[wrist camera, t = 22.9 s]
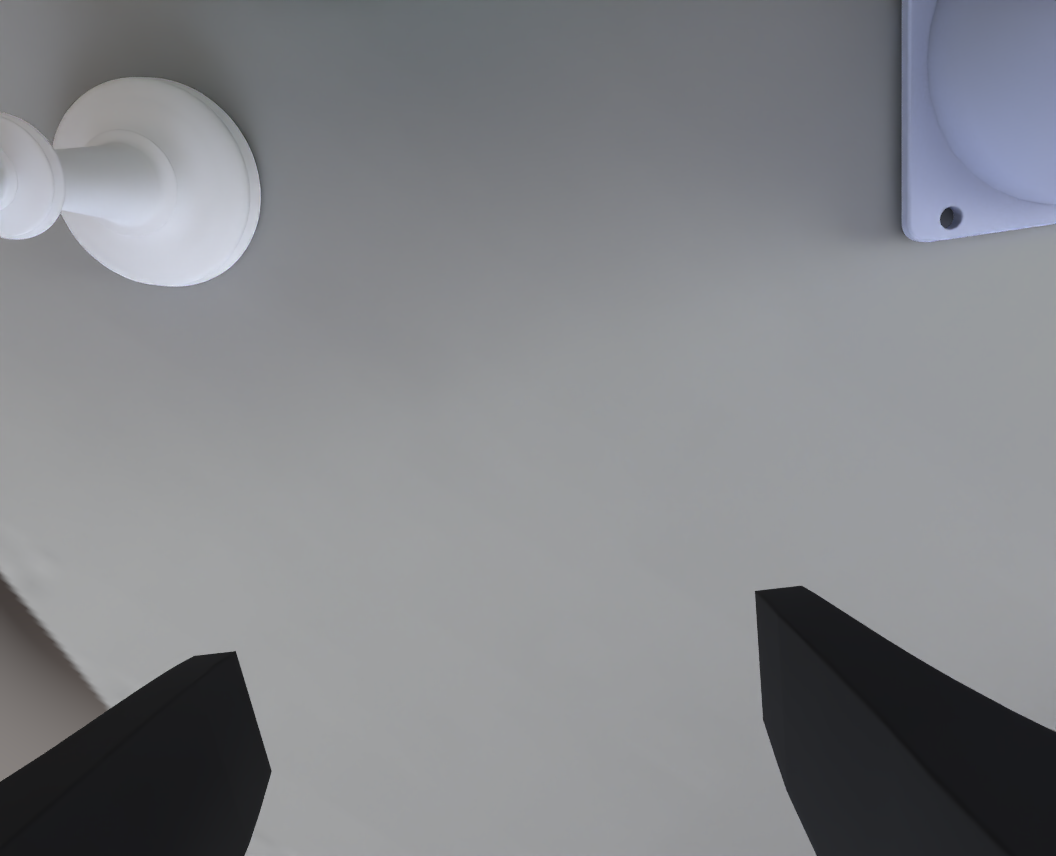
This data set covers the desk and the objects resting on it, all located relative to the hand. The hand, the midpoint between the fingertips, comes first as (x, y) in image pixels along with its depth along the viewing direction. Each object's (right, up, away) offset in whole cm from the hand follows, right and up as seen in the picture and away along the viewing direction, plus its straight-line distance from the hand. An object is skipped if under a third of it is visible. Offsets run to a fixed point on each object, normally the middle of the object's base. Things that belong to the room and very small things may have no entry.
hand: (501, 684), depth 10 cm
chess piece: (-9, +10, +8) cm, 15 cm away
